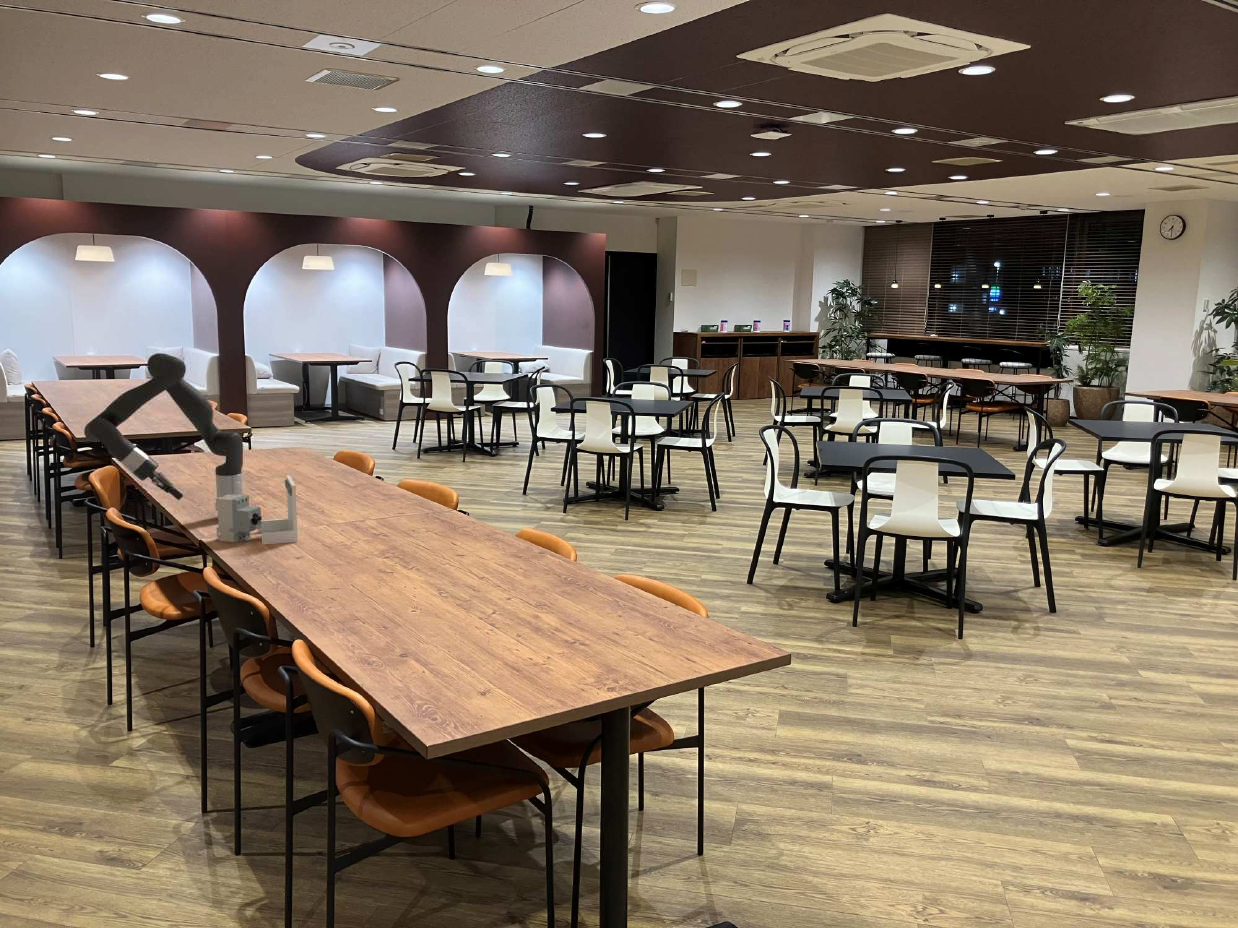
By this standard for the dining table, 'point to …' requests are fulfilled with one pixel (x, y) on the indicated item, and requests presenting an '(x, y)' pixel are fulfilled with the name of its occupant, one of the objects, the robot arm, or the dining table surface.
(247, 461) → the dining table surface
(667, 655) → the dining table surface
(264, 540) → the panel bay
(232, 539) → the circuit breaker
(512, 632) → the dining table surface
